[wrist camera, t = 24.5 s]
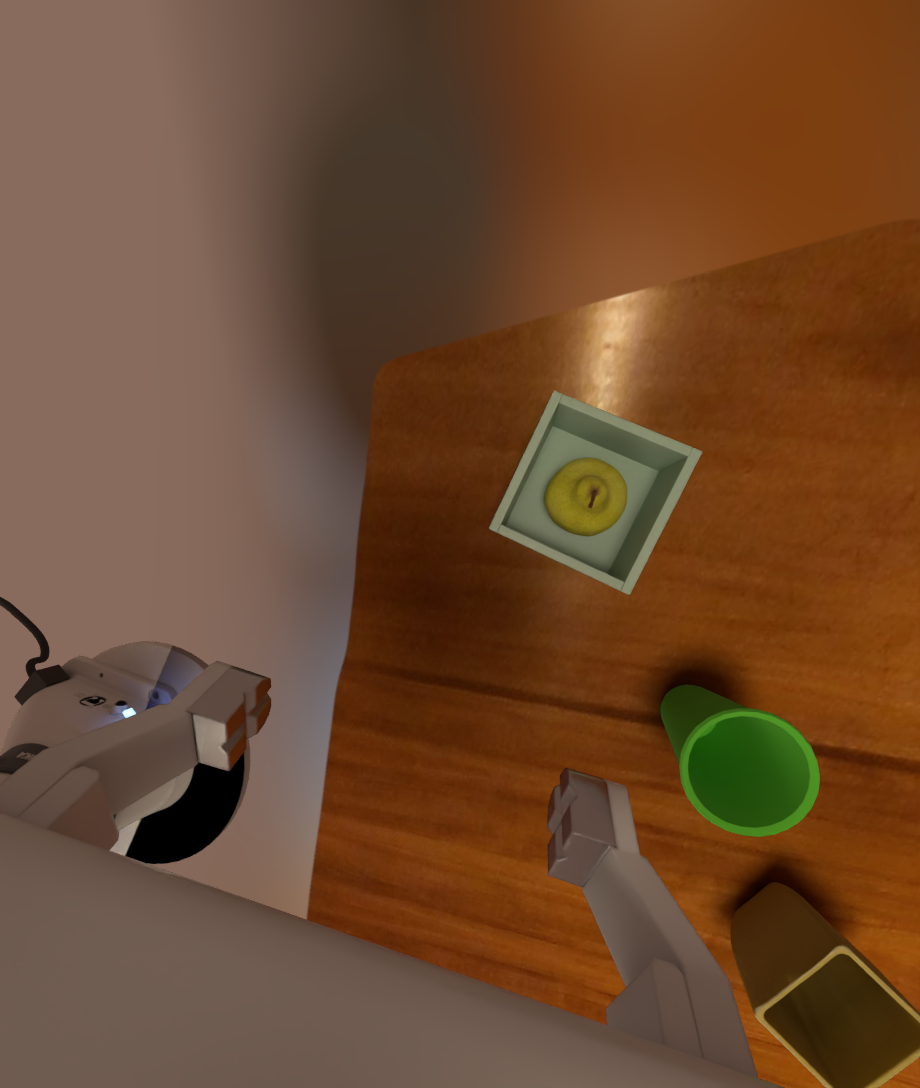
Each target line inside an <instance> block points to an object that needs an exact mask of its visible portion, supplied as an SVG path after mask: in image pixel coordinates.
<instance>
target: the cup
mask: <svg viewBox="0 0 920 1088" xmlns="http://www.w3.org/2000/svg"><path fill="white" fill-rule="evenodd" d="M660 713H661V718H662V721H663V724H664V726H665V729H666V731H667V734H668V737H669V739H670V742H671V744H672V747H673V750H674V752H675V755H676V757H677V760H678V763H679V770H680V777H681V783H682V786H683V788H684V791H685V793H686V796H687V798H688V799H689V800H690V802H691V803H692V805H693V806H694V807H695V809H696V810H697V811H698V812H699V813H700V814H701V815H703V816H704V817H705V818H706V819H707V820H708V821H710V822H711V823H713V824H715V825H717V826H718V827H720V828H722V829H724V830H727V831H730V832H733V833H736V834H739V835H745V836H756V837H759V836H767V835H774V834H777V833H779V832H782V831H785V830H787V829H790V828H791V827H792V826H794V825H795V824H797V823H798V822H799V821H801V820H802V819H803V818H804V817H805V815H806V814H807V813H808V812H809V811H810V809H811V808H812V806H813V804H814V802H815V799H816V797H817V795H818V789H819V781H820V776H819V769H818V763H817V760H816V757H815V755H814V753H813V750H812V748H811V746H810V744H809V743H808V742H807V740H806V739H805V738H804V736H803V735H802V734H801V732H800V731H798V730H797V729H796V728H795V727H794V726H792V725H791V724H790V723H789V722H788V721H786V720H784V719H782V718H780V717H778V716H776V715H774V714H772V713H769V712H765V711H761V710H758V709H749V708H747V707H745V706H743V705H740V704H738V703H736V702H734V701H731V700H729V699H727V698H724V697H722V696H720V695H718V694H715V693H713V692H711V691H708V690H706V689H704V688H702V687H699V686H695V685H681V686H677V687H675V688H673V689H671V690H670V691H669V692H668V693H667V694H666V695H665V696H664V698H663V700H662V703H661V708H660Z"/></svg>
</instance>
